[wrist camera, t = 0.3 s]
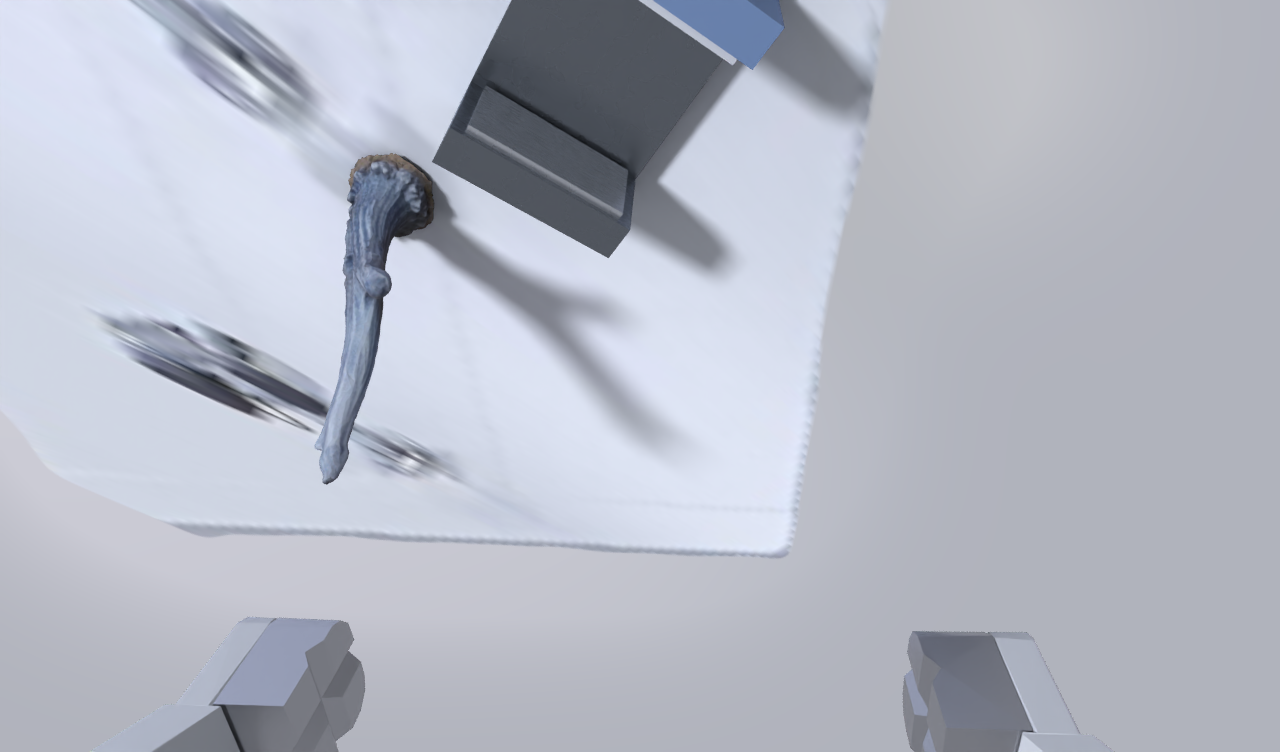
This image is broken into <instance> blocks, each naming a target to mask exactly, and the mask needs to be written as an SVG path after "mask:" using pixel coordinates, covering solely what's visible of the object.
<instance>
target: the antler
mask: <svg viewBox="0 0 1280 752" xmlns="http://www.w3.org/2000/svg"><path fill="white" fill-rule="evenodd" d="M350 177H351V178H350V179H349V180H348V181H349V185H350V186H351V190H350V192H349V194H348V198H347V200H348V201H349V202H350V203H352V205H351V207H350V208H349V216H350V219H349V220H348V221H347V230H346V231H347V232H346V235H345V242H346V255H345V257H344V265H343V273H344V275H345V276H346V279H345V283H344V285H345V289H346V309H345V317H346V334H345V341H344V349H343V353H342V358H341V367H340V372H339V379H338V383H337V387H336V390H335V394H334V397H333V399H332V402H331V405H330V408H329V411H328V414H327V417H326V421H325V424H324V427H323V429H322V432H321V434H320V436H319V438H318V440H317V442H316V444H315V449H317V450H322V454H321V457H320V460H319V463H320V469H321V471H322V473H323V483H324V484H328V483H331V482H333V481H334V480H335V479H336V478H338V476H339V474H340V472H341V471H342V469H343V467H344V465H345V463H346V461H347V459H348V455H349V450H348V441H349V438H350V434H351V432H352V428H353V425H354V421H355V419H356V417H357V414H358V411H359V409H360V406H361V403H362V401H363V399H364V397H365V392H366V389H367V386H368V384H369V381H370V378H371V374H372V371H373V368H374V364H375V357H376V354H377V349H378V342H379V336H380V324H381V319H382V314H383V313H382V311H383V297H384V296H386V295H387V294H388V293H389V291H390V290H391V286H392V283H391V278H390V276H389V274H388V273H387V272H386V271H385V264H386V260H387V253H388V250H389V246H390V243H391V240H392V239H393V238H394V236H395V237H402V236H406V235H409V234H411V233H412V232H413V230H417V229H423V228H425V227H426V226H427V225H428V224H430V223H431V221H432V220H433V209H434V208H433V207H434V203H433V199H432V196H433V195H432V181H429V180H428V179H427V178H426V176H425V175H424V173H422V172H421V171H419V170H418V169H417V168H416V167H414V166H413V165H412V164H411V163H409V162H407V161H405V160H403V159H402V158H401V157H400V156H398V155H397V154H394V155H393V153H390V155H375V156H372V155H368V156H367V157H365V158H363V157H362V158H361V159H359V160H358V162H357V163H356V164H355V168H354V169H351V174H350Z"/></svg>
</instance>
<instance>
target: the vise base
mask: <svg viewBox="0 0 1280 752" xmlns="http://www.w3.org/2000/svg"><path fill="white" fill-rule="evenodd" d="M722 60H723V58H721V57H720V56H718V55H717V54H715V53H714V52H713V51H711V50H710V49H708V48H707V47H705V46H704V45H702V44H701V43H700V42H698V41H697V40H695V39H694V38H692V37H691V36H689V35H688V34H687V33H685V32H684V31H682V30H681V29H679V28H678V27H676V26H675V25H674V24H672V23H671V22H669V21H668V20H666V19H665V18H664V17H662V16H661V15H659V14H658V13H656V12H655V11H653V10H652V9H651V8H649V7H648V6H646V5H645V4H643V3H642V2H640V1H639V0H512V1H511V3H510V5H509V7H508V9H507V11H506V13H505V15H504V17H503V19H502V21H501V23H500V25H499V27H498V29H497V31H496V33H495V35H494V37H493V39H492V41H491V43H490V45H489V47H488V49H487V51H486V53H485V55H484V57H483V59H482V61H481V63H480V65H479V67H478V69H477V71H476V73H475V75H474V77H473V79H472V81H471V83H470V85H469V87H468V89H467V91H466V93H465V95H464V97H463V99H462V101H461V103H460V105H459V107H458V109H457V111H456V113H455V115H454V117H453V119H452V121H451V124H450V126H449V128H448V130H447V132H446V134H445V136H444V138H443V140H442V142H441V144H440V147H439V149H438V151H437V153H436V155H435V157H434V159H433V161H432V162H433V163H435V164H437V165H439V166H441V167H443V168H444V169H446V170H448V171H450V172H452V173H454V174H455V175H457V176H459V177H461V178H463V179H465V180H466V181H468V182H470V183H472V184H474V185H476V186H477V187H479V188H481V189H483V190H485V191H487V192H488V193H490V194H492V195H494V196H496V197H498V198H499V199H501V200H503V201H505V202H507V203H509V204H510V205H512V206H514V207H516V208H518V209H520V210H521V211H523V212H525V213H527V214H529V215H531V216H532V217H534V218H536V219H538V220H540V221H542V222H543V223H545V224H547V225H549V226H551V227H553V228H554V229H556V230H558V231H560V232H562V233H563V234H565V235H567V236H569V237H571V238H573V239H574V240H576V241H578V242H580V243H582V244H584V245H585V246H587V247H589V248H591V249H593V250H595V251H596V252H598V253H600V254H602V255H604V256H606V257H607V258H609V257H610V256H611V254H612V253H613V252H614V250H615V249H616V248H617V246H618V245H619V244H620V242H621V241H622V240H623V239H624V237H625V236H626V235H627V233H628V232H629V231H630V225H631V216H632V206H633V197H634V187H635V179H636V178H637V176H638V175H639V174H640V172H641V171H642V169H643V168H644V167H645V165H646V164H647V163H648V161H649V160H650V158H651V157H652V156H653V154H654V153H655V152H656V150H657V149H658V147H659V146H660V145H661V143H662V142H663V141H664V139H665V138H666V136H667V135H668V134H669V132H670V131H671V130H672V128H673V127H674V125H675V124H676V123H677V121H678V120H679V119H680V117H681V116H682V114H683V113H684V112H685V110H686V109H687V108H688V106H689V105H690V103H691V102H692V101H693V99H694V98H695V97H696V95H697V94H698V92H699V91H700V90H701V88H702V87H703V86H704V84H705V83H706V82H707V80H708V79H709V77H710V76H711V75H712V73H713V72H714V71H715V69H716V68H717V66H718V65H719V64H720V62H721V61H722Z"/></svg>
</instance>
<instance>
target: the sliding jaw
mask: <svg viewBox="0 0 1280 752" xmlns="http://www.w3.org/2000/svg"><path fill="white" fill-rule="evenodd" d="M639 1H640V2H642V3H643V4H645V5H646V6H648V7H649V8H651V9H652V10H653V11H655V12H656V13H658V14H659V15H661V16H662V17H664V18H665V19H666V20H668V21H669V22H671V23H672V24H674V25H675V26H676V27H678V28H679V29H681V30H682V31H684V32H685V33H687V34H688V35H689V36H691V37H692V38H694V39H695V40H697V41H698V42H700V43H701V44H702V45H704V46H705V47H707V48H708V49H710V50H711V51H713V52H714V53H715V54H717V55H718V56H720V57H721V58H723V59H724V60H726V61H727V62H728V63H730V64H731V65H734V63H735V62H736V61H737V60H739V61H740V62H742V63H743V64H744V65H746V66H747V67H749V68H750V69H752V70H753V68H754V67H755V66H756V64H757V63H758V62H759V61H760V59H761V58H762V57H763V55H764V54H765V53H766V51H767V50H768V49H769V47H770V46H771V45H772V44H773V42H774V41H775V40H776V38H777V37H778V36H779V34H780V33H781V32H782V30H783V29H784V28H785V27H784V23H783V18H782V13H781V9H780V4H779V0H639Z"/></svg>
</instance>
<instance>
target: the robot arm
mask: <svg viewBox="0 0 1280 752" xmlns="http://www.w3.org/2000/svg"><path fill="white" fill-rule="evenodd" d="M353 641H354V638H353V635H352V632H351V630H350V627H349V624H348V623H346V622H343V621H339V620H317V619H296V618H295V619H294V618H260V617H247V618H245V619H244V620H242V621H240V622H238V623H237V624H236V625H235V627H234V628H233V629H232V631H231V632H230V633H229V635H228V636H227V637H226V639H225V640H224V641H223V643H222V644H221V645H220V646H219V648H218V649H217V650H216V652H215V653H214V654H213V656H212V657H211V658H210V660H209V661H208V662H207V664H206V665H205V666H204V667H203V669H202V670H201V671H200V673H199V674H198V675H197V677H196V678H195V679H194V681H193V682H192V683H191V685H190V686H189V687H188V689H187V690H186V691H185V693H184V694H183V695H182V696H181V698H180V699H179V701H178V702H177V703H176V704H165V705H164V706H162V707H160V708H159V709H157V710H156V711H154V712H153V713H151V714H149V715H148V716H146V717H144V718H143V719H141V720H139V721H138V722H136V723H135V724H133V725H132V726H130V727H129V728H127V729H125V730H123V731H122V732H120V733H119V734H117V735H115V736H114V737H112V738H111V739H109V740H107V741H106V742H104V743H103V744H101V745H99V746H98V747H97V748H94V749H93V750H91V751H90V752H338V748H337V744H336V740H338V739H339V738H340V737H342V736H343V735H344V734H345V733H347V732H348V731H349V730H351V729H352V728H353V726H354V724H355V722H356V719H357V717H358V715H359V713H360V711H361V707H362V702H363V697H364V692H365V677H364V671H363V668H362V664H361V662H360V661H359V660H358V659H357V658H356V657H355V656H353V655H352V654H351V653H350V652H349V651H348V650H349V648H350V646H351V644H352V642H353ZM907 652H908V656H909V660H910V663H911V667H912V670H911V671H909V672H908V673H907V674H906V675H905V676H904V686H903V711H904V719H905V726H906V732H907V736H908V739H909V744H910V747H911V749H912V750H913V751H914V752H1114V751H1113V750H1112V749H1111V748H1109V747H1108V746H1107V745H1105V744H1104V743H1103V742H1102V741H1100V740H1099V739H1097V738H1096V737H1095V736H1094V735H1087V734H1086V735H1085V734H1080V732H1079V730H1078V728H1077V726H1076V724H1075V722H1074V720H1073V718H1072V716H1071V713H1070V712H1069V709H1068V707H1067V705H1066V703H1065V701H1064V699H1063V697H1062V695H1061V693H1060V691H1059V690H1058V687H1057V685H1056V683H1055V681H1054V679H1053V677H1052V675H1051V673H1050V671H1049V669H1048V667H1047V665H1046V663H1045V661H1044V659H1043V657H1042V655H1041V653H1040V651H1039V649H1038V647H1037V645H1036V643H1035V641H1034V639H1033V637H1032V636H1030V635H1029V634H1028V633H1027V632H988V633H985V632H929V631H928V632H927V631H926V632H924V631H913V632H912V634H911V636H910V638H909V644H908V651H907Z"/></svg>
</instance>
